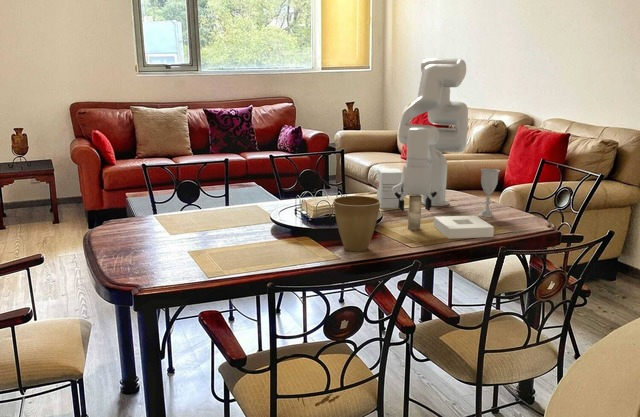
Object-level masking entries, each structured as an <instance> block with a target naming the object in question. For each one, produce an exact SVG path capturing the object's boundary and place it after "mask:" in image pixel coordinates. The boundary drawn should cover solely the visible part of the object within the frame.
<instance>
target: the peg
mask: <svg viewBox="0 0 640 417" xmlns="http://www.w3.org/2000/svg"><path fill="white" fill-rule="evenodd" d="M422 196H423V195H408V214H407V216H408V217H407V220H408V221H407V229H408V230H411V231H419V230H420V229H421V218H422V204H421V202H422Z"/></svg>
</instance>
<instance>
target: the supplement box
mask: <svg viewBox="0 0 640 417" xmlns="http://www.w3.org/2000/svg"><path fill="white" fill-rule="evenodd" d="M402 172H403V171H402V170H400V169H399V168H377V179H376V180H377V181H376V198H377V199H379V200H380V207H379V209H399V208H398V204H399V199H398V198H397V197H396V196H395V195H394V192H393V190H392V187H394V186H396V185H397V184H399V183H401V177H402ZM397 192H398V193H399V194H400V193H401V191H400V188H399V189H397Z"/></svg>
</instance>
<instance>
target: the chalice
mask: <svg viewBox="0 0 640 417" xmlns="http://www.w3.org/2000/svg"><path fill="white" fill-rule="evenodd" d="M500 171H501V170H500V169H498V168H486V167H485V168H480V172H481V176H480V184H481V187H482V190H483V192H484V194H486V197H485V200H486V202H485V208H484V209H482V211H481V212H480V213H479V216H480V217H484V218H492V217H494V214H493V210H491V209H490V208H489V205H491V204H490V200H491V198H490V195H492V194H493V193H494V191H495V190H496V188H497V185H498V182H499V181H498V180H499V173H500Z"/></svg>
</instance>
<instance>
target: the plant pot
mask: <svg viewBox="0 0 640 417" xmlns="http://www.w3.org/2000/svg"><path fill="white" fill-rule="evenodd" d="M333 208H334V209H333V210H334V214H335V220H336V224H337V229H338V233H339V236H340V239H341V242H342V245H343V247H344V250H346V251H349V252H365V251H367V250H368V248H369V245H370V243H371V240H372V238H373V235H374V232H375V228H376V225H377V221H378V218H379V217H378V216H379V211H380V200H379V199H377V197H372V196H365V195H343V196H339V197H336V198H333Z"/></svg>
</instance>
